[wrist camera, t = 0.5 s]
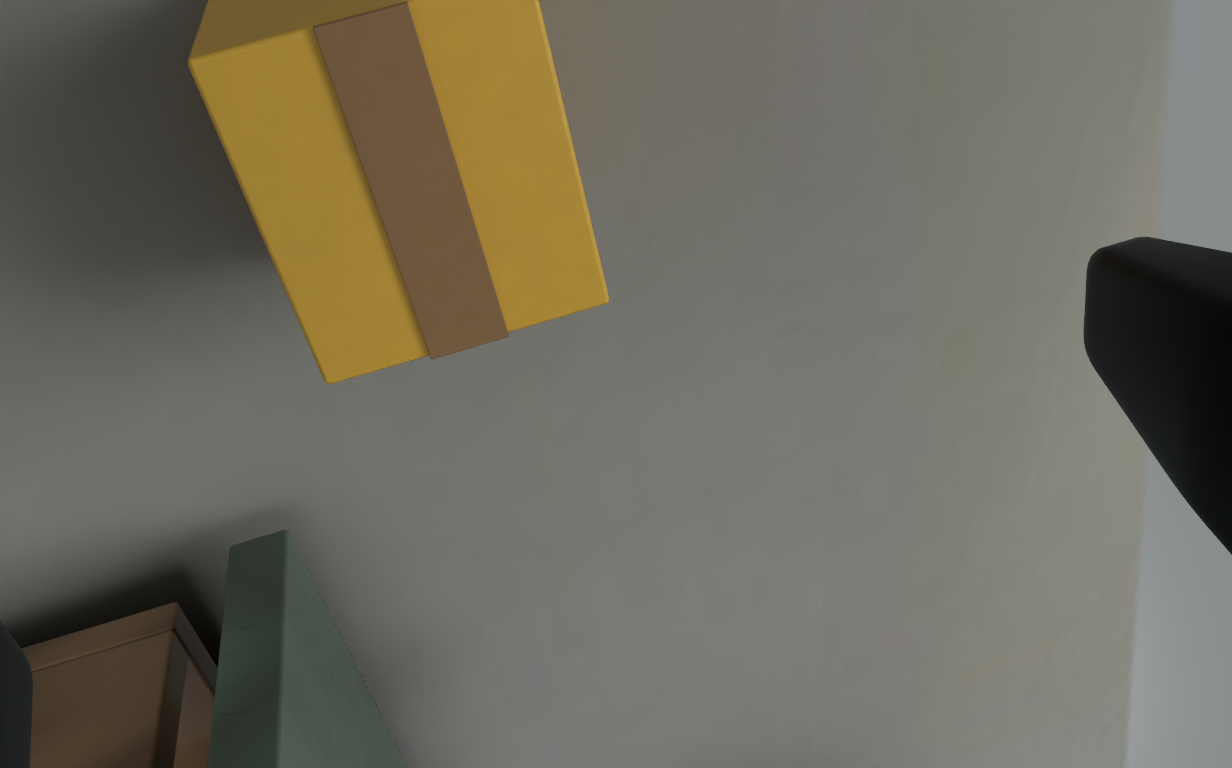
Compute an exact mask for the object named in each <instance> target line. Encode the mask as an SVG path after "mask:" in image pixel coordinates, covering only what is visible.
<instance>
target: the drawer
mask: <svg viewBox="0 0 1232 768" xmlns="http://www.w3.org/2000/svg"><path fill="white" fill-rule="evenodd" d="M21 649H22V650H23V652H24V654H25V656H26V657H27V660H28V662H29V664H30V668H31V671H32V677H33V705H32V729H31V753H30V768H407V766H406V764H405V762H404V760H403V758H402V756H401V754H400V752H399V750H398V748H397V746H396V744H395V742H394V740H393V738H392V736H391V734H390V732H389V730H388V728H387V726H386V724H385V722H384V720H383V718H382V716H381V714H380V712H379V710H378V708H377V706H376V704H375V702H374V700H373V698H372V696H371V694H370V692H369V690H368V688H367V686H366V684H365V682H364V680H363V678H362V676H361V674H360V672H359V670H358V668H357V666H356V664H355V662H354V660H353V658H352V656H351V654H350V652H349V650H348V648H347V646H346V644H345V642H344V640H343V638H342V636H341V634H340V632H339V630H338V629H337V627H336V625H335V623H334V621H333V619H332V617H331V615H330V613H329V611H328V609H327V607H326V605H325V603H324V601H323V599H322V597H321V595H320V593H319V591H318V589H317V587H316V585H315V583H314V581H313V579H312V577H311V575H310V573H309V571H308V569H307V567H306V565H305V563H304V561H303V559H302V557H301V555H300V553H299V551H298V549H297V547H296V545H295V543H294V541H293V539H292V537H291V535H290V533H289V532H288V531H287V530H282V531H279V532H276V533H272V534H269V535H266V536H262V537H259V538H256V539H252V540H249V541H246V542H242V543H239V544H236V545H233V546H231V547H230V553H229V563H228V573H227V583H226V593H225V602H224V612H223V622H222V632H221V641H220V651H219V661H218V668H217V667H216V665H215V663H214V662H213V660H212V658H211V657H210V655H209V654H208V652H207V650H206V649H205V647H204V645H203V644H202V642H201V641H200V639H199V637H198V636H197V634H196V632H195V631H194V629H193V627H192V626H191V624H190V623H189V621H188V619H187V618H186V616H185V614H184V613H183V611H182V610H181V608H180V606H179V605H178V603H174V602H173V603H170V604H167V605H163V606H160V607H157V608H153V609H150V610H147V611H143V612H140V613H137V614H134V615H130V616H127V617H124V618H120V619H117V620H114V621H110V622H107V623H104V624H101V625H97V626H94V627H91V628H87V629H84V630H81V631H78V632H74V633H71V634H68V635H64V636H61V637H58V638H54V639H51V640H48V641H45V642H41V643H38V644H35V645H31V646H28V647H25V648H21Z"/></svg>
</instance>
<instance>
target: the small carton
mask: <svg viewBox="0 0 1232 768" xmlns="http://www.w3.org/2000/svg"><path fill="white" fill-rule="evenodd" d="M188 67H189V69H190V71H191V74H192V76H193V78H194V81H195V83H196V85H197V88H198V90H199V92H200V94H201V97H202V99H203V101H204V104H205V106H206V108H207V111H208V113H209V115H210V118H211V120H212V122H213V125H214V127H215V129H216V132H217V134H218V136H219V138H220V141H221V143H222V145H223V148H224V150H225V152H226V155H227V157H228V159H229V162H230V164H231V166H232V169H233V171H234V173H235V176H236V178H237V180H238V182H239V185H240V187H241V189H242V192H243V194H244V196H245V199H246V201H247V203H248V206H249V208H250V210H251V213H252V215H253V217H254V220H255V222H256V224H257V226H258V229H259V231H260V233H261V236H262V238H263V240H264V243H265V245H266V247H267V250H268V252H269V254H270V257H271V259H272V261H273V264H274V266H275V268H276V270H277V273H278V275H279V277H280V280H281V282H282V284H283V287H284V289H285V291H286V294H287V296H288V298H289V301H290V303H291V305H292V307H293V310H294V312H295V314H296V317H297V319H298V321H299V324H300V326H301V328H302V331H303V333H304V335H305V338H306V340H307V342H308V345H309V347H310V349H311V351H312V354H313V356H314V358H315V361H316V363H317V365H318V368H319V370H320V372H321V375H322V377H323V379H324V381H325V382H326V383H327V384H333V383H336V382H340V381H343V380H347V379H350V378H354V377H357V376H360V375H364V374H367V373H371V372H374V371H378V370H381V369H384V368H388V367H391V366H395V365H398V364H401V363H405V362H408V361H412V360H415V359H419V358H422V357H425V356H429V355H430V357H431V359H435V358H438V357H442V356H445V355H449V354H452V353H455V352H459V351H462V350H466V349H469V348H472V347H476V346H479V345H483V344H486V343H490V342H493V341H496V340H500V339H503V338H507V337H509V334H508V332H511V331H514V330H518V329H521V328H525V327H528V326H532V325H535V324H538V323H542V322H545V321H549V320H552V319H556V318H559V317H562V316H566V315H569V314H573V313H576V312H580V311H583V310H586V309H590V308H593V307H597V306H600V305H603V304H606V303H608V301H609V295H608V291H607V287H606V282H605V278H604V274H603V270H602V265H601V261H600V257H599V253H598V248H597V244H596V240H595V236H594V232H593V227H592V223H591V219H590V215H589V210H588V206H587V202H586V198H585V193H584V189H583V185H582V181H581V177H580V172H579V168H578V164H577V160H576V155H575V151H574V147H573V143H572V139H571V134H570V130H569V126H568V122H567V117H566V113H565V109H564V105H563V100H562V96H561V92H560V88H559V84H558V79H557V75H556V71H555V67H554V62H553V58H552V54H551V50H550V45H549V41H548V37H547V33H546V29H545V24H544V20H543V16H542V12H541V7H540V3H539V0H208V2H207V5H206V8H205V11H204V14H203V17H202V20H201V23H200V26H199V29H198V32H197V35H196V38H195V41H194V44H193V46H192V49H191V52H190V55H189V58H188Z"/></svg>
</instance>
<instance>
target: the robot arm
mask: <svg viewBox="0 0 1232 768" xmlns="http://www.w3.org/2000/svg"><path fill="white" fill-rule="evenodd" d="M1084 343H1085V349H1086V352H1087V355H1088V357H1089V360H1090V362H1091V364H1092V365H1093V367H1094V369H1095V370H1096V372H1097V373H1098V375H1099V376H1100V377H1101V379H1102V380H1103V382H1104V383H1105V385H1106V386H1107V388H1108V389H1109V391H1110V392H1111V393H1112V395H1113V396H1114V398H1115V399H1116V401H1117V402H1118V404H1119V405H1120V407H1121V408H1122V409H1123V411H1124V412H1125V414H1126V415H1127V417H1128V418H1129V420H1130V421H1131V423H1132V424H1133V425H1134V427H1135V428H1136V430H1137V431H1138V433H1139V434H1140V436H1141V437H1142V439H1143V440H1144V441H1145V443H1146V444H1147V446H1148V447H1149V449H1150V450H1151V452H1152V453H1153V455H1154V456H1155V457H1156V459H1157V460H1158V462H1159V463H1160V465H1161V466H1162V468H1163V469H1164V471H1165V472H1166V473H1167V475H1168V476H1169V478H1170V479H1171V481H1172V482H1173V483H1174V485H1175V486H1176V487H1177V489H1178V490H1179V491H1180V493H1181V494H1182V496H1183V497H1184V498H1185V499H1186V501H1187V502H1188V503H1189V505H1190V506H1191V507H1192V508H1193V510H1194V511H1195V512H1196V513H1197V514H1198V516H1199V517H1200V518H1201V519H1202V521H1203V522H1204V523H1205V524H1206V525H1207V527H1208V528H1209V529H1210V530H1211V531H1212V532H1213V534H1214V535H1215V536H1216V537H1217V538H1218V539H1219V540H1220V542H1221V543H1222V544H1223V545H1224V546H1225V547H1226V549H1227V550H1228V551H1229V552H1230V553H1231V554H1232V253H1230V252H1225V251H1220V250H1214V249H1209V248H1204V247H1199V246H1193V245H1188V244H1182V243H1177V242H1172V241H1167V240H1162V239H1156V238H1151V237H1137V238H1133V239H1130V240H1127V241H1123V242H1120V243H1117V244H1113V245H1110V246H1107V247H1103V248H1100V249H1098V250H1097V251H1096V252H1095V253H1094V254H1093V255H1092V256H1091V258H1090V260H1089V263H1088V267H1087V278H1086V297H1085V316H1084ZM32 705H33V677H32V671H31V668H30V664H29V662H28V660H27V657H26V656H25V654H24V652H23V650H22V649H21V648H20V646H19V645H18V644H17V642H16V641H15V640H14V638H13V637H12V636H11V634H10V633H9V631H8V630H7V629H6V627H5V626H4V625H3V623H2V622H1V621H0V768H30V753H31V729H32Z"/></svg>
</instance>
